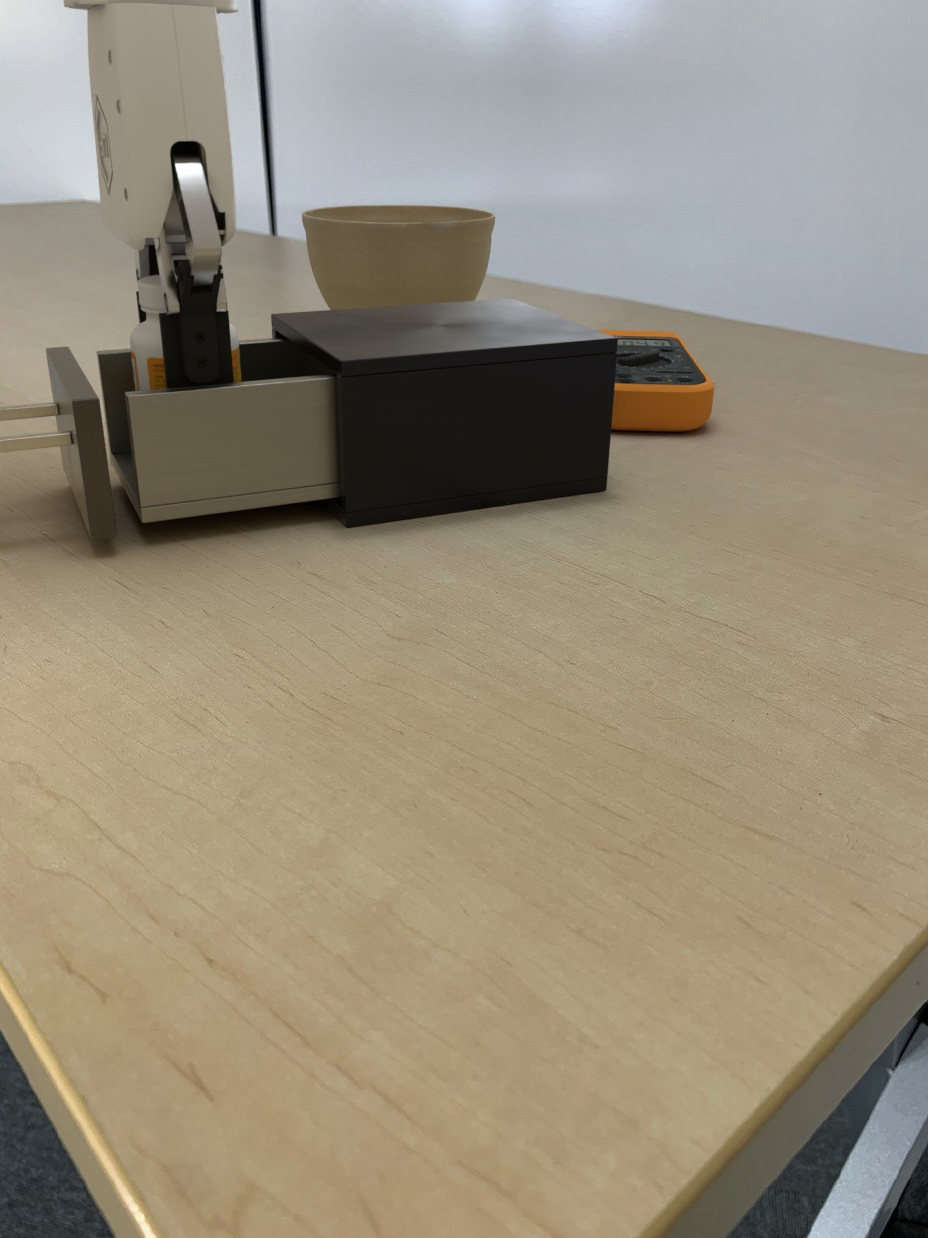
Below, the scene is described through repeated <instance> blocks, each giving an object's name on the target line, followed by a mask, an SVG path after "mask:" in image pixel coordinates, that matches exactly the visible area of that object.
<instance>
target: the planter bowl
mask: <svg viewBox="0 0 928 1238" xmlns="http://www.w3.org/2000/svg"><path fill="white" fill-rule="evenodd" d="M301 223H302V226H303V228H304V229H303V230H304V231H305V240H306V241H305V242H306V249H307V256H308V259H309V264H310V268H311V271H312V274H313V277H314V280H315V284H316V286H317V288H318V290H319V292H320V294H321V296H322V298H323V300H324V302H325V303H326V305H327V307H328V308H329V310H340V309H355V308H371V307H386V306H402V305H417V304H433V303H448V302H464V301H476V299H477V297H478V295H479V293H480V291H481V288H482V286H483V284H484V280H485V278H486V276H487V275H486V274H487V271H488V267H489V262H490V258H491V256H490V255H491V250H492V235H493V231H494V229H495V224H496V213H494V212H493V211H489V210H485V209H479V208H472V207H464V206H463V207H462V206H453V205H451V206H449V205H433V204H354V205H353V204H352V205H336V206H334V205H333V206H325V207H317V208H312V209H308V210H304V211H302V212H301Z"/></svg>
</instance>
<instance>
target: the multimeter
mask: <svg viewBox="0 0 928 1238" xmlns="http://www.w3.org/2000/svg"><path fill="white" fill-rule="evenodd" d="M596 330H597V331H600V332H602V333H605V334H608V335H610V336H613V337H616V338H618V346H617V352H616V353H617V363H616V376H615V388H614V401H613V414H612V427H611V430H615V431H634V432H636V431H637V432H672V433H673V432H678V433H679V432H690V431H693V430H696V429H698V428H700V427H702V426H703V425H705V424H706V422H708V420H709V419H710V417H711V414H712V409H713V401H714V393H715V382H713V380H712V379H711V378H710V377H709V376H708V374H707V373H706V372H705V371H704V370H703V368H702V367H701V366H700V365H699V363H698V362H697V361H696V359H695V358H694V356H693V354H692V353H691V352H690V351H689V349H688V348H687V346H686V344H685V342H684V340H683V338H682V337H681V336H680V335H678V334H677V333H675V332H672V331H663V330H626V329H596Z"/></svg>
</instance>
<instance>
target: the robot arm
mask: <svg viewBox="0 0 928 1238" xmlns="http://www.w3.org/2000/svg"><path fill="white" fill-rule="evenodd" d="M63 7H64V8H68V9H71V10H82V11H87V15H86V17H87V19H86V20H87V21H86V23H87V25H86V27H87V29H86V30H87V31H86V32H87V57H88V58H87V59H88V74H89V88H90V89H89V90H90V99H91V101H90V102H91V110H92V112H91V113H92V121H93V134H94V143H95V153H96V164H97V178H98V189H99V201H100V212H101V213H100V214H101V219H102V223H103V225H104V227H105V228H106V229H107V230H108V231H110V233H112V235H114V236H116V237H117V238H118V239H119V240H121V241H122V242H123V243H124V244H126V245H127V246H128V247H130V248H131V249H133V250H134V262H135V264H134V265H135V277H136V283H137V285H138V280H139V279H141V278H144V277H148V276H154V275H160V280H161V287H162V293H163V300H164V306H165V311H166V313H159V322H160V332H161V341H162V351H163V360H164V370H165V379H166V389H167V388H178V387H190V386H201V385H212V384H224V383H234V377H233V364H232V351H231V338H230V326H229V323H230V315H229V314H230V313H229V310H228V297H227V289H226V283H225V276H224V271H223V270H224V269H223V263H222V255H223V247H224V246H225V245H227V244H228V243H229V242H230V241H231V240H232V239H233V237H234V236H235V235H236V229H237V226H236V225H237V223H236V222H237V205H236V185H235V169H234V157H233V145H232V143H233V142H232V131H231V123H230V122H231V121H230V120H231V119H230V111H229V102H228V93H227V83H226V76H225V66H224V64H225V58H224V55H223V50H222V40H221V34H220V27H219V17H218V15H219V14H234V13H238V11H239V10H238V0H63ZM175 274H176V276H177V282H176V276H175ZM135 295H136V303H137V313H138V324H140V323H142V322H144V321H146V318H147V316H146V312H144V311H142V310H141V305H140V304H139V292H138V290H136V291H135Z"/></svg>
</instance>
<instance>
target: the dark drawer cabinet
mask: <svg viewBox="0 0 928 1238" xmlns="http://www.w3.org/2000/svg"><path fill="white" fill-rule="evenodd" d="M270 321H271V338H281V337H286V338H288V339H289V340H291V341H292V342H293V343H295V344H296V345H298V346H299V347H301V348H302V349H303V350H305V351H306V352H308V353H309V354H310V355H312V356H313V357H315V358H316V359H318V360H319V361H320V362H322V363H323V364H325V365H326V366H327V367H329V368H330V369H332V370H333V371H335V372H336V373H337V393H338V422H339V452H340V482H341V497H337V498H330V499H322V500H320V502H322V503H323V504H324V506H325V507H326V508H327V509H329V511H330V512H331V513H332V514H333V515H334V516H335V517H336V518H337V519H338V520H339V521H340V523H342V524H343V525H344V526H345V527H346V528H350V527H359V526H365V525H371V524H372V525H373V524H379V523H386V522H395V521H400V520H406V519H407V520H408V519H414V518H421V517H422V518H423V517H429V516H434V515H442V514H449V513H455V512H456V513H457V512H462V511H470V510H477V509H482V508H483V509H484V508H492V507H498V506H504V505H512V504H519V503H525V502H533V501H540V500H546V499H547V500H548V499H554V498H560V497H568V496H575V495H582V494H589V493H597V492H603V491H607V488H608V487H607V486H608V477H609V475H608V474H609V464H610V463H609V462H610V451H611V450H610V449H611V438H612V437H611V436H612V429H611V427H612V414H613V401H614V388H615V376H616V363H617V353H616V352H617V346H618V338H616V337H613V336H610V335H608V334H605V333H602V332H600V331H597V330H598V329H594V328H591V327H590V326H587V325H584V324H581V323H579V322H576V321H574V320H570V319H568V318H565V317H563V316H560V315H558V314H555V313H552V312H551V311H550V312H549V311H547V310H544V309H542V308H539V307H536V306H534V305H532V304H528V303H526V302H523V301H520V300H518V299H515V298H512V297H511V298H495V299H482V300H481V299H480V300H475V301H464V302H448V303H433V304H417V305H402V306H386V307H371V308H355V309H340V310H330V309H326V310H325V309H324V310H311V311H309V310H308V311H296V312H295V311H293V312H277V313H271V314H270Z"/></svg>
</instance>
